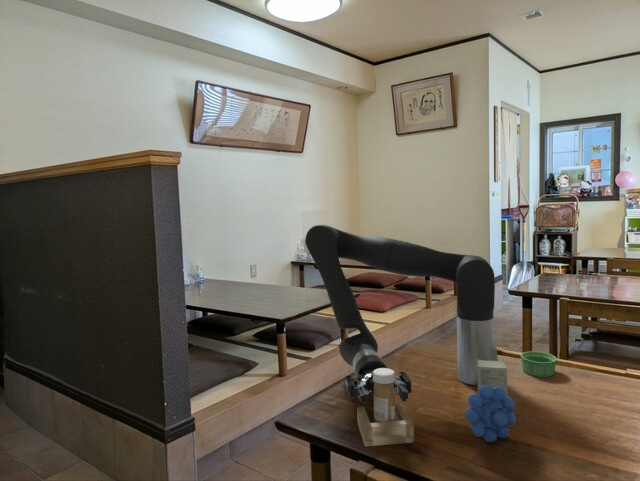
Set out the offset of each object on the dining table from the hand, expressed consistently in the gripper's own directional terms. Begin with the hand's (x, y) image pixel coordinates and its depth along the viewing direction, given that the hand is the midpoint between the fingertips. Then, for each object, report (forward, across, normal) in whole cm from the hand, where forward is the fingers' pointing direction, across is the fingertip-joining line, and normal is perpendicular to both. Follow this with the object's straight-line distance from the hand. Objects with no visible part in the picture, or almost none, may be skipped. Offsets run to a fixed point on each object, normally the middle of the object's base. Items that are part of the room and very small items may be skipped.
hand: (385, 398), depth 92 cm
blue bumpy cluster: (+5, +20, +9) cm, 23 cm away
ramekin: (-28, +50, +9) cm, 57 cm away
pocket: (-2, 0, +8) cm, 9 cm away
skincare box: (-6, +26, +9) cm, 28 cm away
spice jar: (-2, 0, +9) cm, 9 cm away
